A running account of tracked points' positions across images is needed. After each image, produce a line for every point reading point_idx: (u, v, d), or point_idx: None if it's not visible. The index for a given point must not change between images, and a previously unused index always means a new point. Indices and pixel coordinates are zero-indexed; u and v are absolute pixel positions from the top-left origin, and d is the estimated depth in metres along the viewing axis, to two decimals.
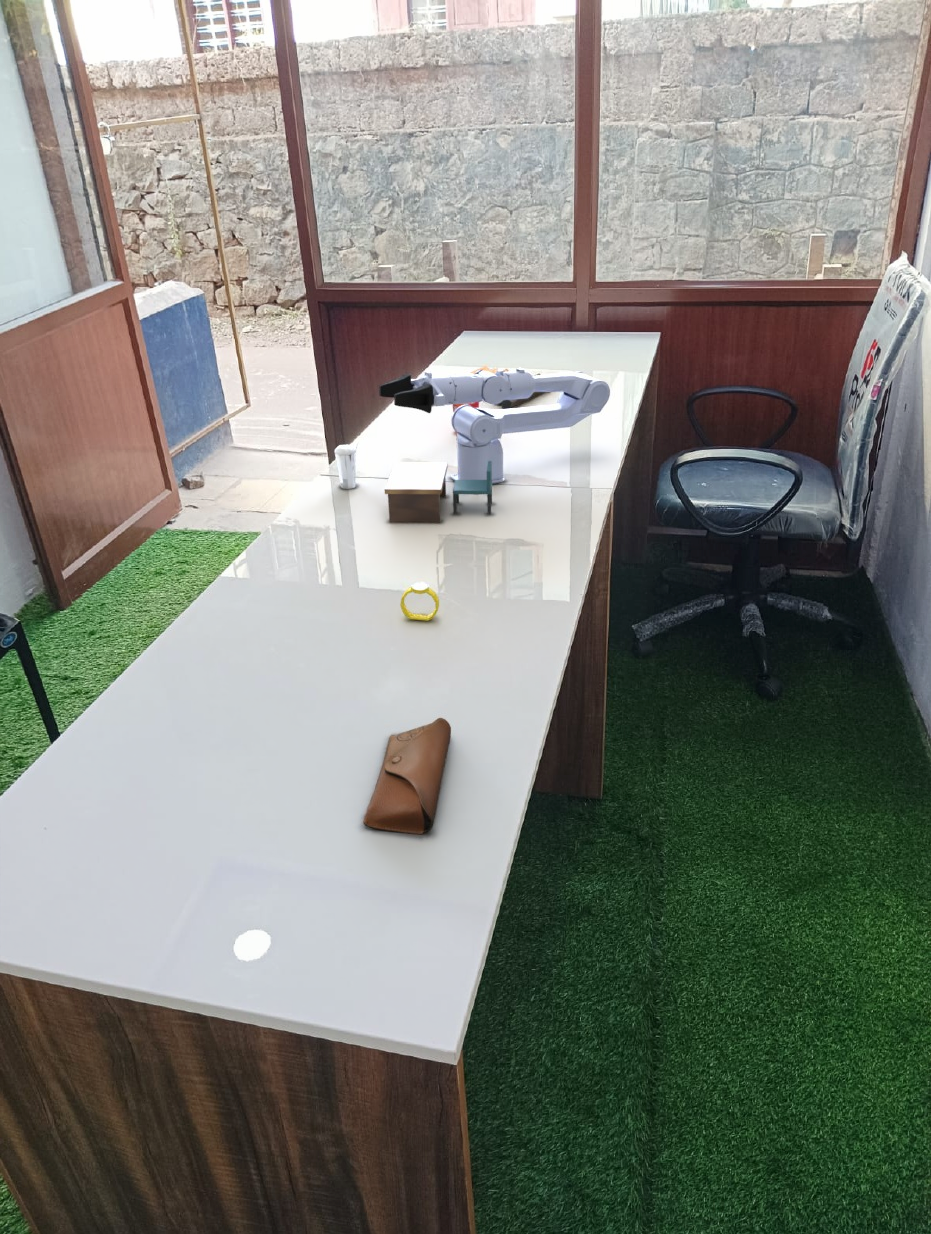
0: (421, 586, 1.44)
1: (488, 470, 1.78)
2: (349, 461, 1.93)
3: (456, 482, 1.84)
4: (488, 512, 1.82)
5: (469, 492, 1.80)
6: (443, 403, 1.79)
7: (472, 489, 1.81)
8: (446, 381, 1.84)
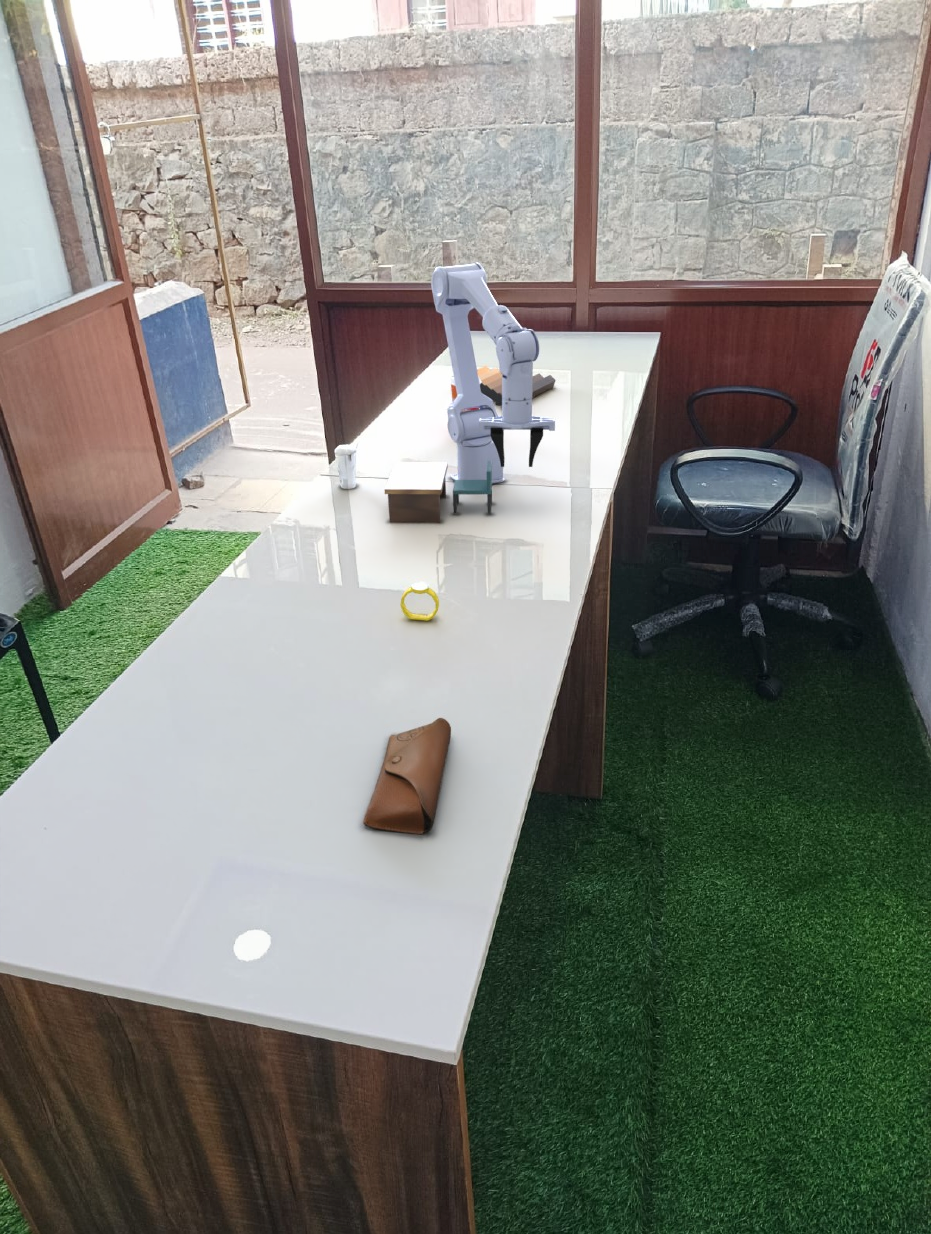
0: (421, 586, 1.44)
1: (488, 470, 1.78)
2: (349, 461, 1.93)
3: (456, 482, 1.84)
4: (488, 512, 1.82)
5: (469, 492, 1.80)
6: (554, 420, 1.76)
7: (472, 489, 1.81)
8: (526, 408, 1.72)
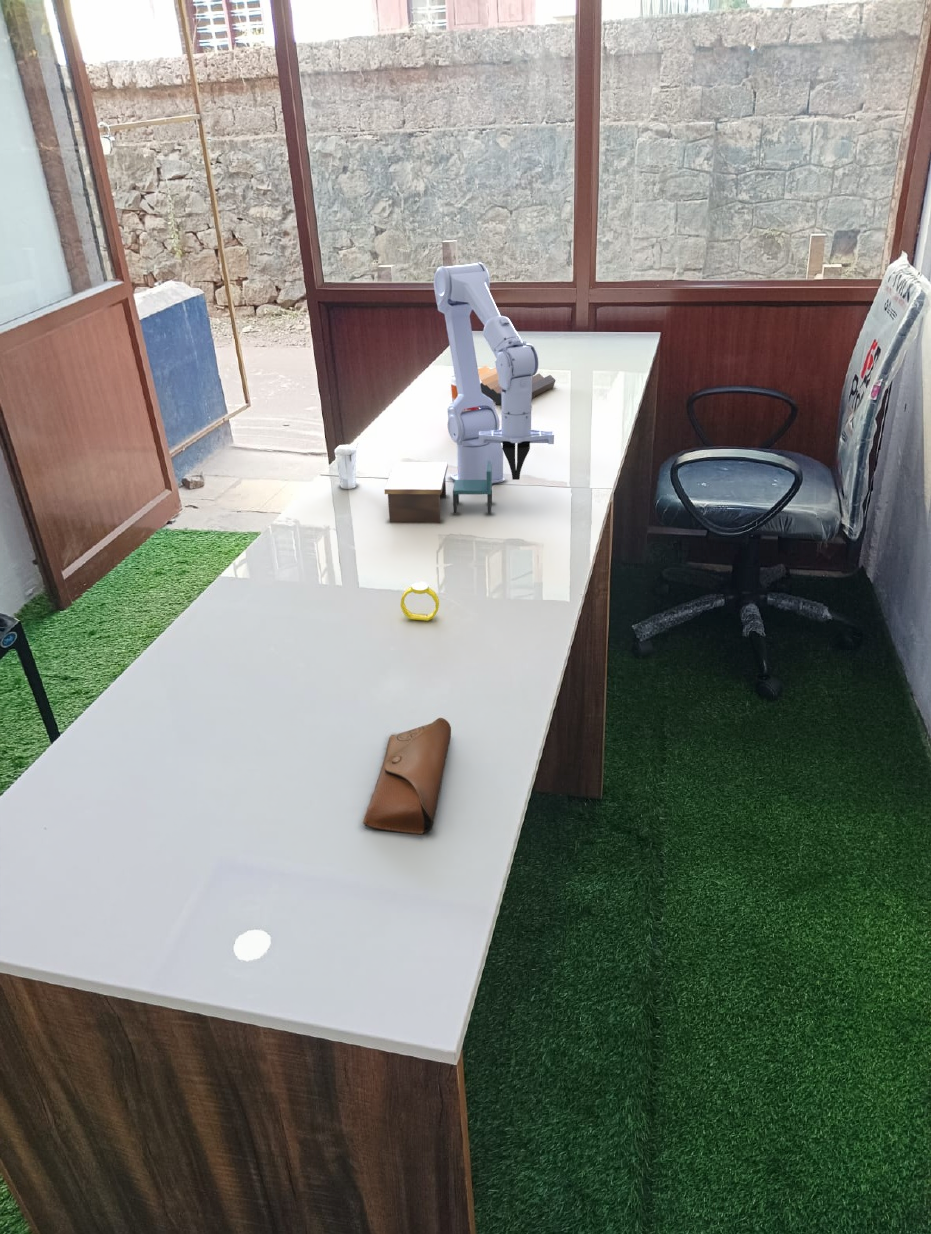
0: (421, 586, 1.44)
1: (488, 470, 1.78)
2: (349, 461, 1.93)
3: (456, 482, 1.84)
4: (488, 512, 1.82)
5: (469, 492, 1.80)
6: None
7: (472, 489, 1.81)
8: (525, 422, 1.73)
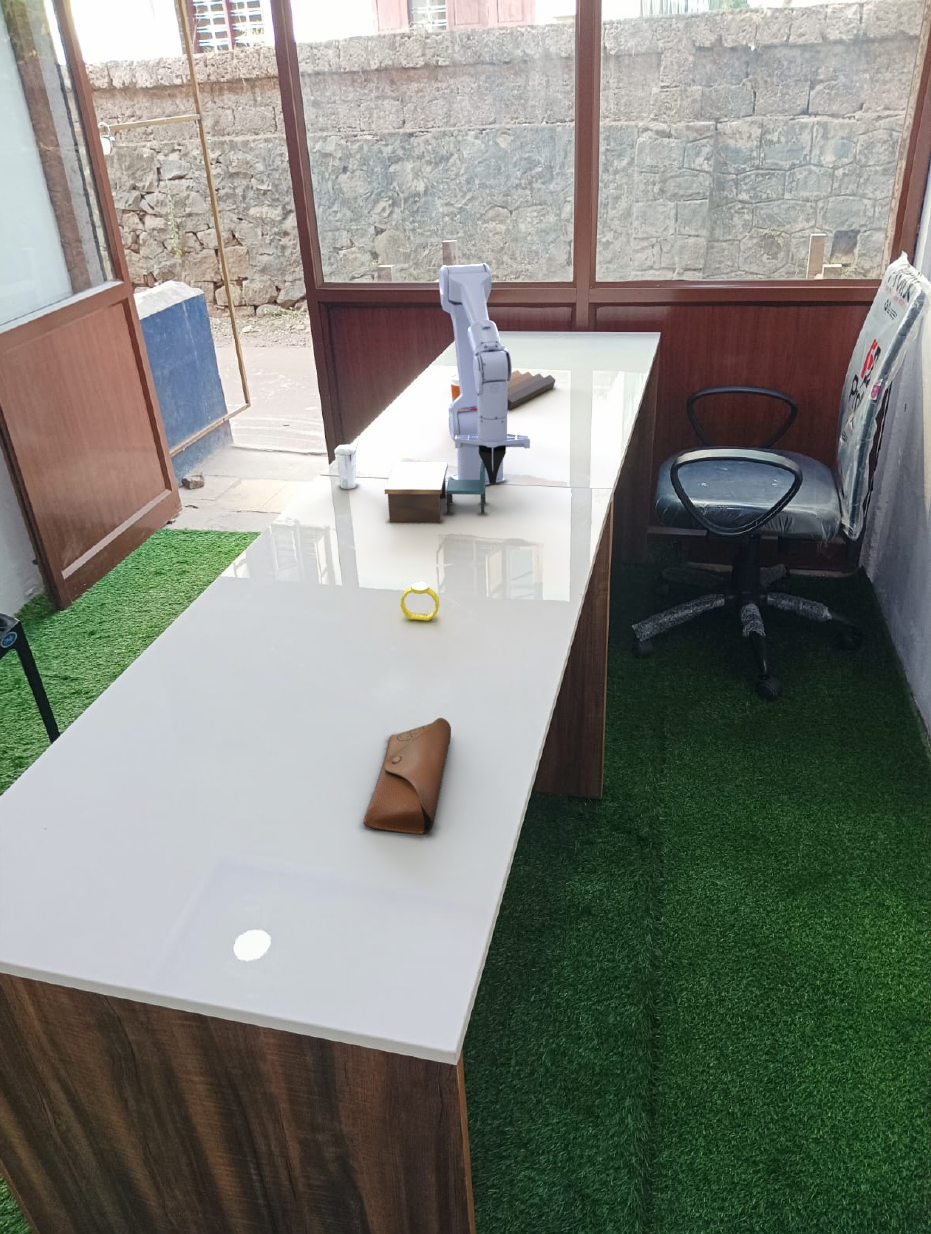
0: (421, 586, 1.44)
1: (481, 470, 1.79)
2: (349, 461, 1.93)
3: (450, 482, 1.84)
4: (481, 512, 1.82)
5: (462, 492, 1.80)
6: None
7: (465, 489, 1.81)
8: (501, 426, 1.74)
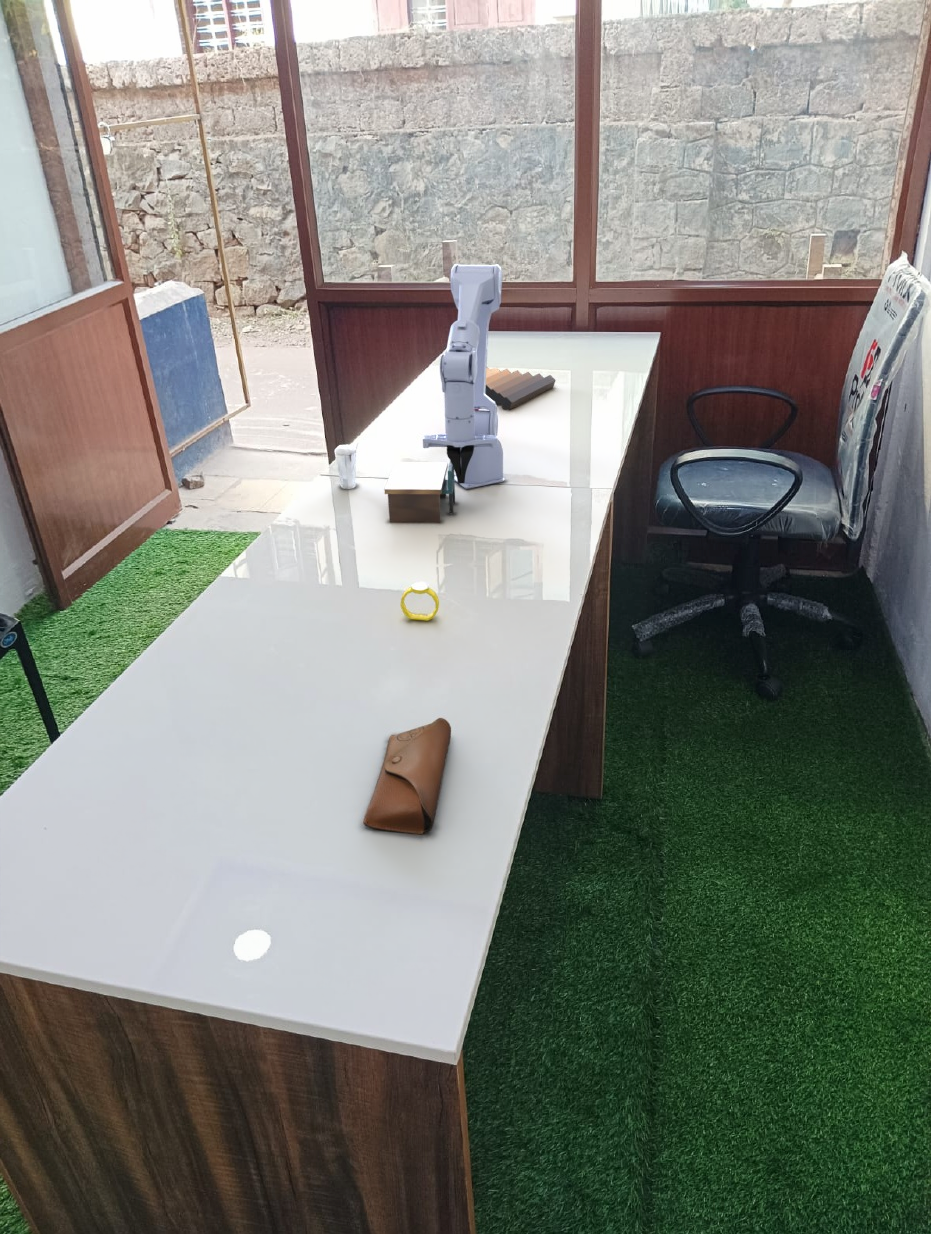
0: (421, 586, 1.44)
1: (449, 470, 1.79)
2: (349, 461, 1.93)
3: None
4: (450, 512, 1.83)
5: None
6: (497, 438, 1.78)
7: None
8: (468, 426, 1.74)
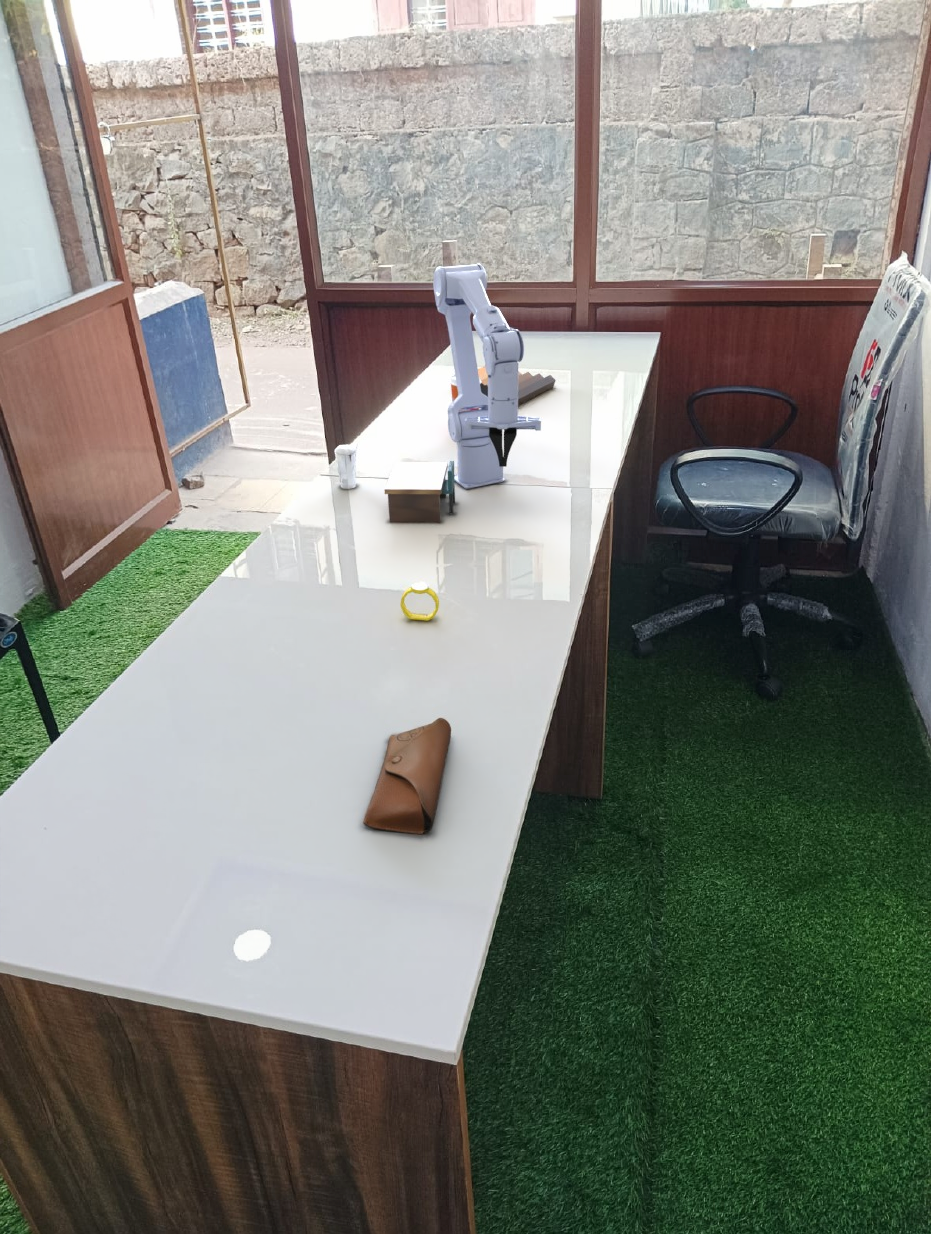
0: (421, 586, 1.44)
1: (449, 470, 1.79)
2: (349, 461, 1.93)
3: None
4: (450, 512, 1.83)
5: None
6: (540, 420, 1.76)
7: None
8: (511, 408, 1.72)
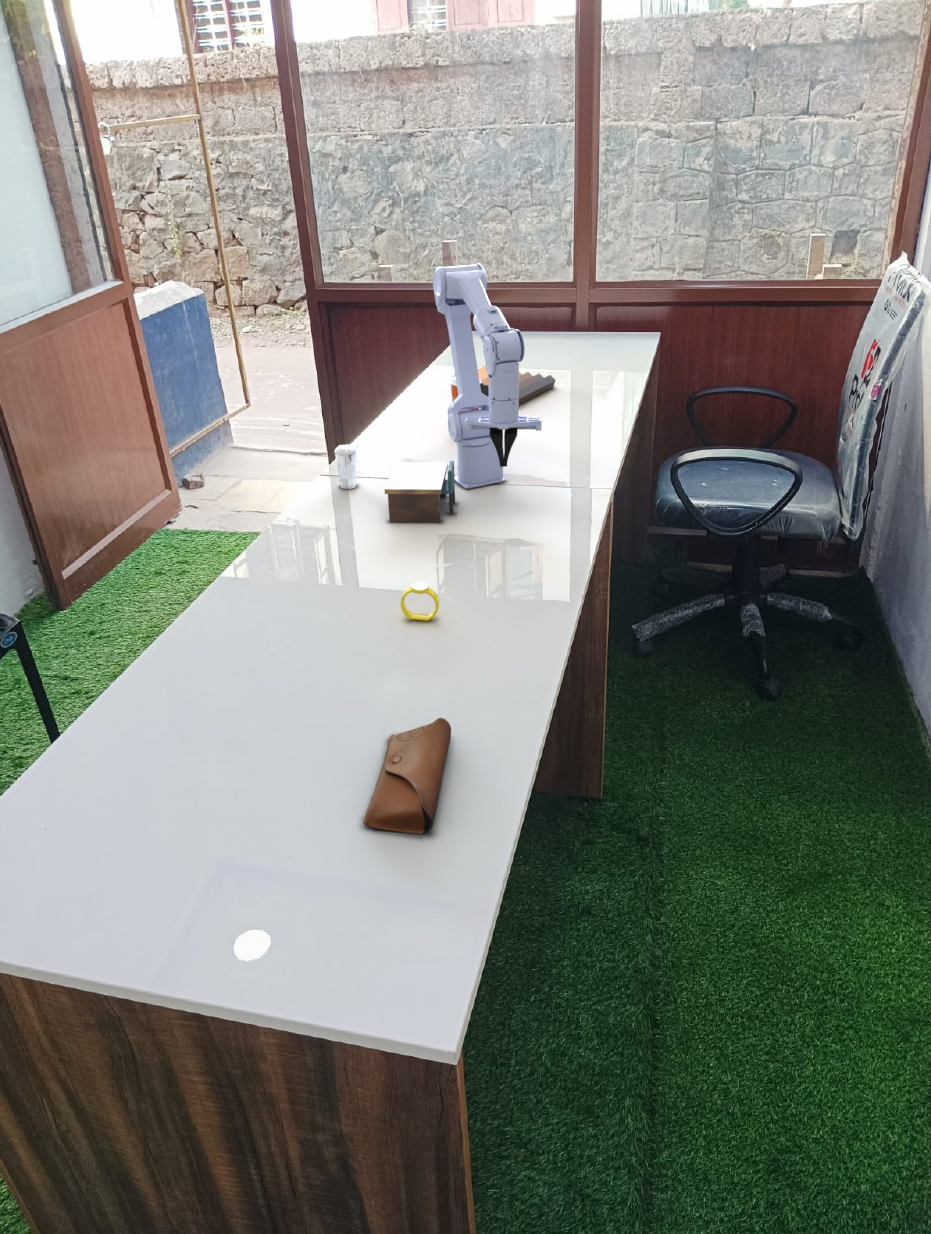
0: (421, 586, 1.44)
1: (449, 470, 1.79)
2: (349, 461, 1.93)
3: None
4: (450, 512, 1.83)
5: None
6: None
7: None
8: (512, 408, 1.72)
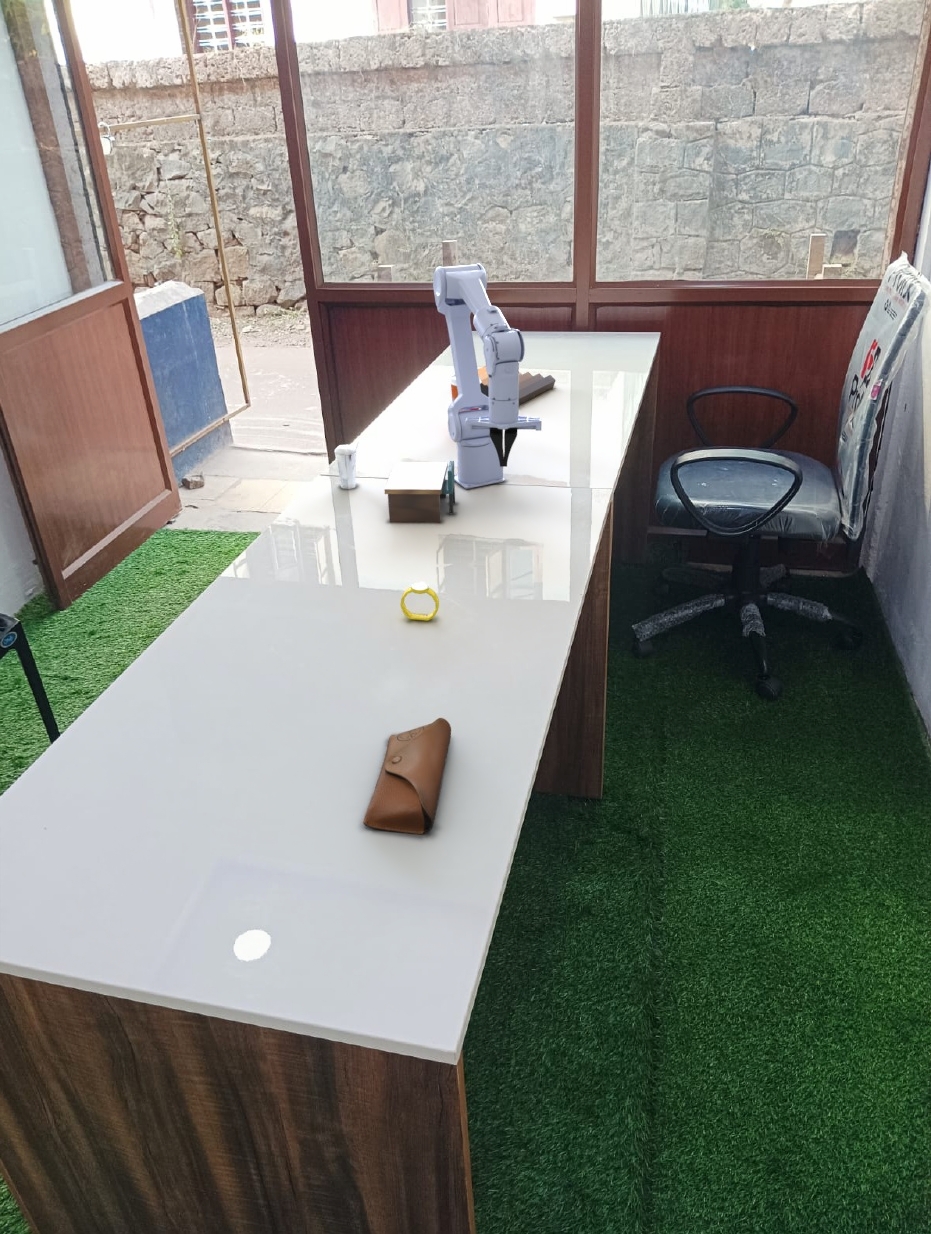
0: (421, 586, 1.44)
1: (449, 470, 1.79)
2: (349, 461, 1.93)
3: None
4: (450, 512, 1.83)
5: None
6: None
7: None
8: (512, 408, 1.72)
